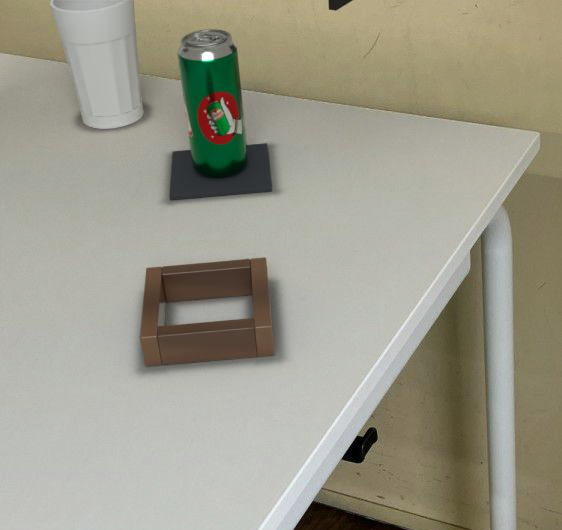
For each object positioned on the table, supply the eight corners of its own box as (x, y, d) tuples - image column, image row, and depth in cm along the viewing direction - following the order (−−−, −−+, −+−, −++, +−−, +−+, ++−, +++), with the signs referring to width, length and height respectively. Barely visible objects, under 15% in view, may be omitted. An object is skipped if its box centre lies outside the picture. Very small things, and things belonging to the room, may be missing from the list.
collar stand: (151, 295, 77) (146, 267, 75) (268, 284, 77) (266, 256, 75) (145, 367, 70) (139, 337, 68) (274, 355, 70) (271, 326, 68)
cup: (119, 137, 99) (97, 15, 92) (58, 124, 103) (32, 5, 96) (167, 106, 105) (149, -11, 97) (107, 95, 108) (86, -20, 101)
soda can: (207, 153, 94) (191, 25, 87) (257, 158, 93) (245, 29, 85) (184, 177, 91) (165, 46, 83) (235, 184, 89) (221, 51, 82)
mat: (173, 155, 96) (172, 151, 95) (267, 146, 96) (267, 142, 95) (170, 200, 89) (169, 196, 88) (272, 191, 89) (271, 187, 88)
